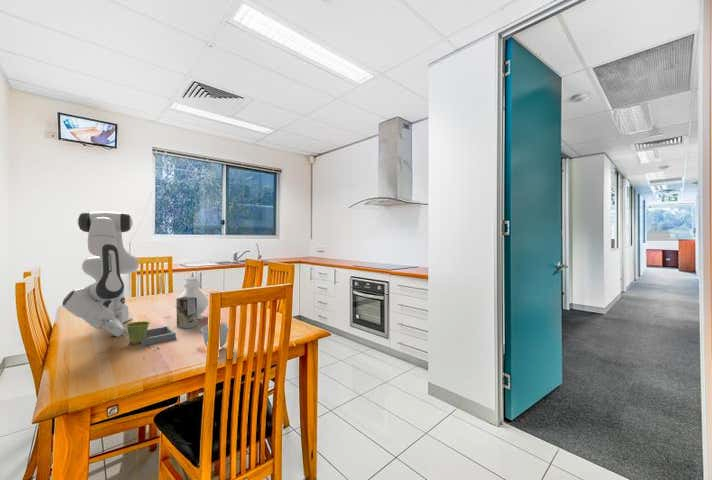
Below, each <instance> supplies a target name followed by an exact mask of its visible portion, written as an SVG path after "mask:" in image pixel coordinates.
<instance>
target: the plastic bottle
mask: <svg viewBox="0 0 712 480" xmlns="http://www.w3.org/2000/svg"><path fill="white" fill-rule="evenodd" d="M120 300H121V299H120V296H118V297H116V298H113V299H111V301H112V302H111V303H110V304H109V306H108V309H110V310H111V311H113V316H114V317H116V318H117V319H118V320H119V321H120V322H121V324H122V326H123V328H124V329H125V326H124V322H123V317H122V316H123V309H124V306H123V304H122V302H120ZM108 336H111V337H116V336H115V335H114V334H112V333H110V332H109V331H108Z"/></svg>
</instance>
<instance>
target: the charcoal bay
mask: <svg viewBox="0 0 712 480" xmlns="http://www.w3.org/2000/svg"><path fill="white" fill-rule="evenodd" d="M155 335H156V336H155ZM176 339H177V333H176V332H175V331H174V330H173V329H172V328H171V327H170V326H169V325H165V326H160V327H154V328H149V329H148V328H147V334H146V338H143V339H141V342H140V346H142V347H143V346H148V345H152V344H157V343H163V342H168V341H172V340H176Z"/></svg>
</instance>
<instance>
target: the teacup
mask: <svg viewBox="0 0 712 480" xmlns="http://www.w3.org/2000/svg"><path fill="white" fill-rule="evenodd" d="M219 324H220V347H223V346H224V345H225V344H226V343H227V341H228V340H227V339H228V332H229V329H228V326H230V325H229V324H227V323H219ZM200 330H201V332H202V334H203V340H204V341H203V342H204V345H205V347H206V348H208V347H207V342H208V324H206V325H205V326H203V327H202V328H201V329H200Z"/></svg>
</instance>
